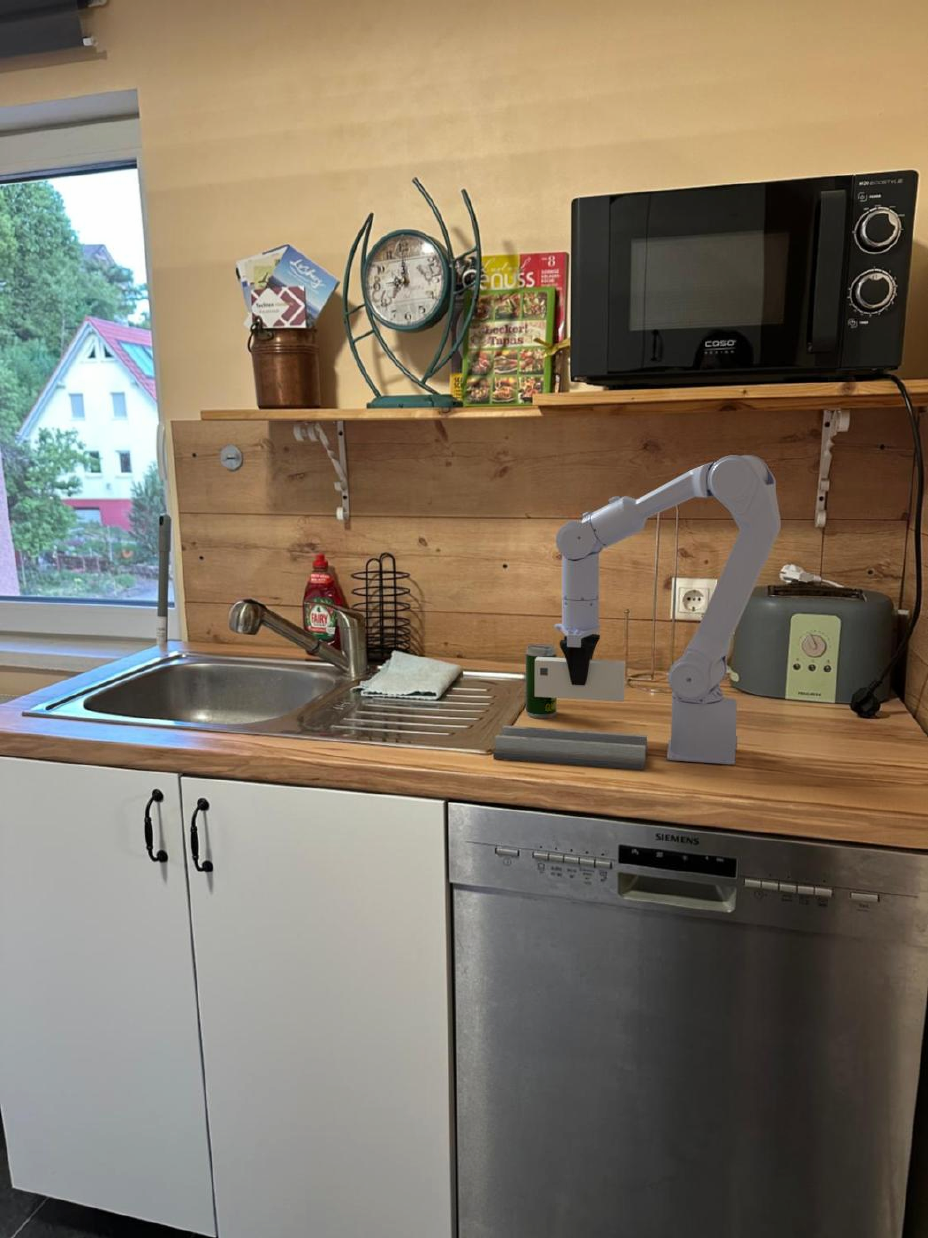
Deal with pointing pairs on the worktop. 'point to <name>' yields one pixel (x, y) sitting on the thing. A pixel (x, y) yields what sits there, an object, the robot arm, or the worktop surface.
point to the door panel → (600, 685)
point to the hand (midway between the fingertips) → (579, 682)
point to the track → (572, 747)
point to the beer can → (534, 705)
